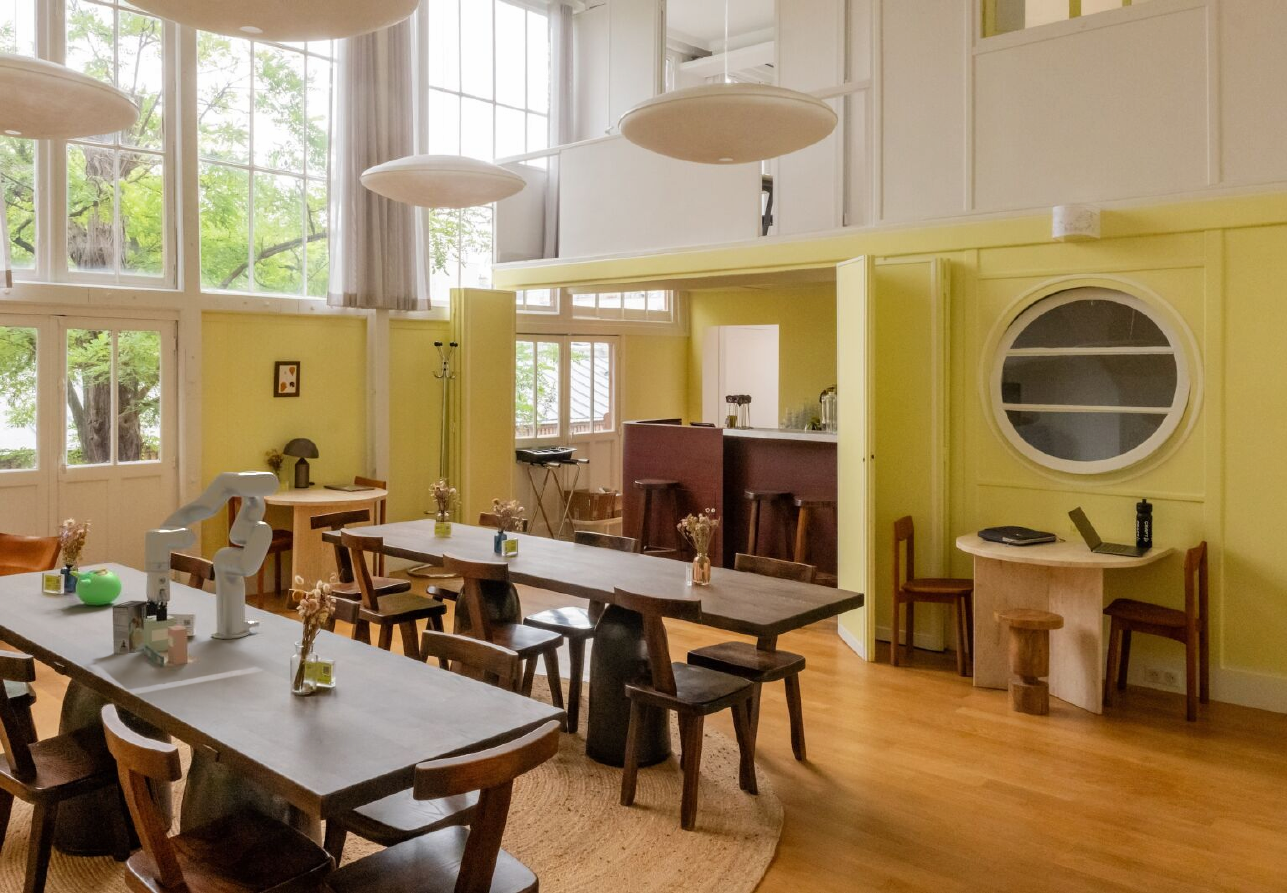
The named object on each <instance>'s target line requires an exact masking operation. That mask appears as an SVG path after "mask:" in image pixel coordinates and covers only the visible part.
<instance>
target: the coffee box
mask: <svg viewBox="0 0 1287 893" xmlns="http://www.w3.org/2000/svg"><path fill="white" fill-rule="evenodd" d="M145 618H148V616H147V600H145V601H144V600H128V601H125V602H121V603H118V604H116V605H113V606H112V636H113V637H112V638H113V639H112V640H113V641H112V642H113V643H112V644H113V653H114V654H119V655H121V654H122V655H128V654H134V653H136V652H139V651H142V650H144V619H145Z"/></svg>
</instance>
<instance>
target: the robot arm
mask: <svg viewBox="0 0 1287 893" xmlns="http://www.w3.org/2000/svg"><path fill="white" fill-rule="evenodd" d="M279 487H280V480H279V478H278V477H277V475H276V474H274V473H272V472H269V471H256V470H246V471H242V472H236V471H235V472H234V471H233V472H232V471H225V472H220V473H219V474H217V475H216V476H215V477H214V479H212V480H211V482H210V483H209V484H208V485H207V486H206V487H205V488H204V490H202V491H201V493H200V494H199V495H198V496H197V497H196V498H195V499H194V500H192V501H191V502H188V503H186V504H185V505H183V506H182V507H180V508H179V509H177V510H175V511H174V512H172V513H171V514H170V515H168V517H166V519H165V520H164V521H163V522H162V523H161V524H160V526H159V527H158V528H157V529H149V530H147V531H146V533H145V538H144V539H145V540H144V542H145V543H144V548H145V550H144V573H146V587H145V588H146V592H145V593H146V598H147V600H146V601H147V617H156V621H157V622H158V621H166V620H167V615H168V602H170V601H171V585H170V584H171V583H170V573H169V572H171V551H186V550H189V549H191V548H192V547H194V546H195V544H196V542H197V535H196V533H195V531H194V530H193V529H190V528H187V527H189V526H191V525H193V524H195V523H198V522H201V521H204V520H207V519H211V518H213V517H215V516H217V514H218V513H219V512H220V511H221V510H222V509H223V507H225V505H226V504H227V503H228V502H229V501H230V499H231V498H233V497H237V498H238V497H239V498H241V505H240V508H239V511H238V514H237V516H236V517H235V520H234V522H233V523H232V526H231V529H230V531H229V536H228V537H229V540H230V542H231V543H232V544H234V545H237V546H241V547H243V548H240V547H233V546H226V547H221V548H219V549H218V550H217V551H216V552H215V553H214V555H213V558H212V565H213V566H212V567H213V571H214V577H215V587H216V588H215V592H216V597H215V598H216V601H215V602H216V630H214V631H212V632H211V636H212V638H215V639H220V640H221V639H223V640H226V639H227V640H228V639H229V640H230V639H238V638H239V639H240V638H243V637H246V636H249V635H250V634H251V631H250V629H251V628H257V627H259V626H260V622H259V621H257V620H256V621H253V620H250V621H247V620H246V584H245V579H244V577H252V576H253V575H256V573H258V571H259V570H260V568H261V567H262V564H263V562H264V560H265V557H266V555H267V553H268V550H269V549H270V547H271V544H272V542H273V540H272V539H273V530H272V527H271V526H270V524H268V523H267V522H265V521H263V518H264V516H265V513H266V502H265V498H264V497H269V496H272V495H274V494H275V493H276V492H277V491H278V490H279Z"/></svg>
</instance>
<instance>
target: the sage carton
mask: <svg viewBox="0 0 1287 893" xmlns="http://www.w3.org/2000/svg"><path fill="white" fill-rule="evenodd" d="M171 626H175V617H174V616H172V615H170V614H169V615H168V614H167V620H166V621H158V622H157V621H156V616H151V617H147V618H145V619H144V649H143V651H144V652H145V646H146V645H147V646H148V647H150V648H151V649H153V650H154V651H156V652H157V653H159V652H165V651H168V627H171Z"/></svg>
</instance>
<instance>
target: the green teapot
mask: <svg viewBox="0 0 1287 893" xmlns="http://www.w3.org/2000/svg"><path fill="white" fill-rule="evenodd" d="M107 569H108V567H104V568H100V569H96V570H90V571H88V572H86V573H84V572H80V571H77V570H75V571H74V570H70V571H69V574H71V575H72V576H73V577H75V578H76V579H77V582H76V583H75V593H76V596H77V597H78V599H79V600H80V601H81V602H83V603H84V604H87V605H88V606H89V605H90V606H103V605H108V604H110V603H112V602H114V601H115V600H117V599H118V598H119V596H120V595H121V592H122V582H121V580H120V577H118V575H116V574H115V573H114V572H112V571H110V570H107Z"/></svg>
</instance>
